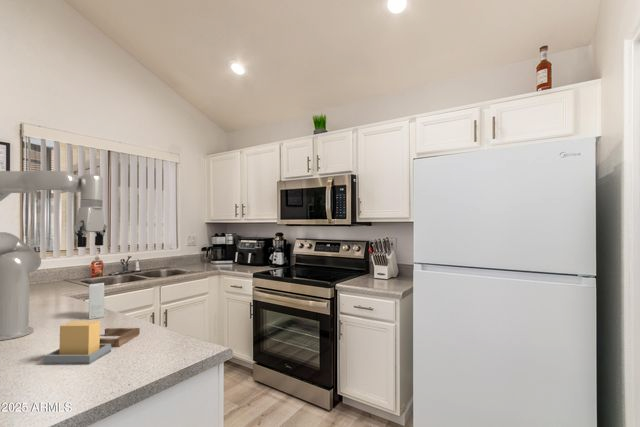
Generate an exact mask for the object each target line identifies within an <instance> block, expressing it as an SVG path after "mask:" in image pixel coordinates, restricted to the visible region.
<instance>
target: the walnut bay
mask: <svg viewBox="0 0 640 427" xmlns="http://www.w3.org/2000/svg"><path fill="white" fill-rule="evenodd" d="M140 331H141V330H140V327H106V328H105V329H104V337H105V336H106V337H107V336H108V337H109V336H110V338H106V337H105V338H103V337H100V344H111V348H119V347H121V346H124V344H126V343H128V342H130V341H131V340H133V339H135V338H136V337H138V336H139V334H140ZM111 336H113V338H111ZM114 336H115V338H114ZM116 337H117V338H116ZM134 337H135V338H134Z"/></svg>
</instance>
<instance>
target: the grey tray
mask: <svg viewBox="0 0 640 427" xmlns="http://www.w3.org/2000/svg"><path fill="white" fill-rule="evenodd" d="M111 351H112V347H111V344H100V348H99V349H98V350H96V351H95V352H93V353H91V354H89V355H59V348H58V349H56V350H54V351H52V352H51V351H50V352H49V353H47V354H45V355H43V365H90V364H92V363H93V362H95V361H98V360H99V359H100V358H103V357H104V356H106V355H107V354H109V353H111Z"/></svg>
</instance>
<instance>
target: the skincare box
mask: <svg viewBox="0 0 640 427" xmlns="http://www.w3.org/2000/svg"><path fill="white" fill-rule="evenodd" d="M100 318H101V319H102V318H105V282H99V283H90V284H89V285H88V319H89V320H93V319H100Z"/></svg>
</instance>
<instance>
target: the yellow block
mask: <svg viewBox="0 0 640 427" xmlns="http://www.w3.org/2000/svg"><path fill="white" fill-rule="evenodd" d="M100 334H101V320H72V321H69V322H66V323H64V324H62V325H59V348H58V349H59V355H89V354H91V353H93V352H95V351H96V350H98V349H99V348H100V338H101V337H100V336H101V335H100Z"/></svg>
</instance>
